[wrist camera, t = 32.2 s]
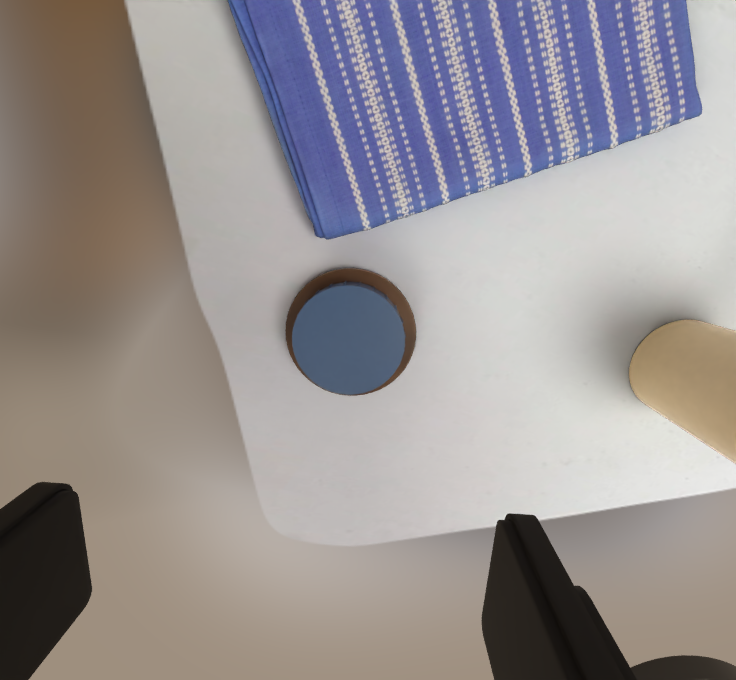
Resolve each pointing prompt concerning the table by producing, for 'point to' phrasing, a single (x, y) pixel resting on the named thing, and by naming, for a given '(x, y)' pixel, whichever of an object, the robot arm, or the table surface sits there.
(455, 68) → the dish towel
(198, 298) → the table surface
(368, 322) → the lid
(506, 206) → the table surface
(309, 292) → the coaster
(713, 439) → the jar
